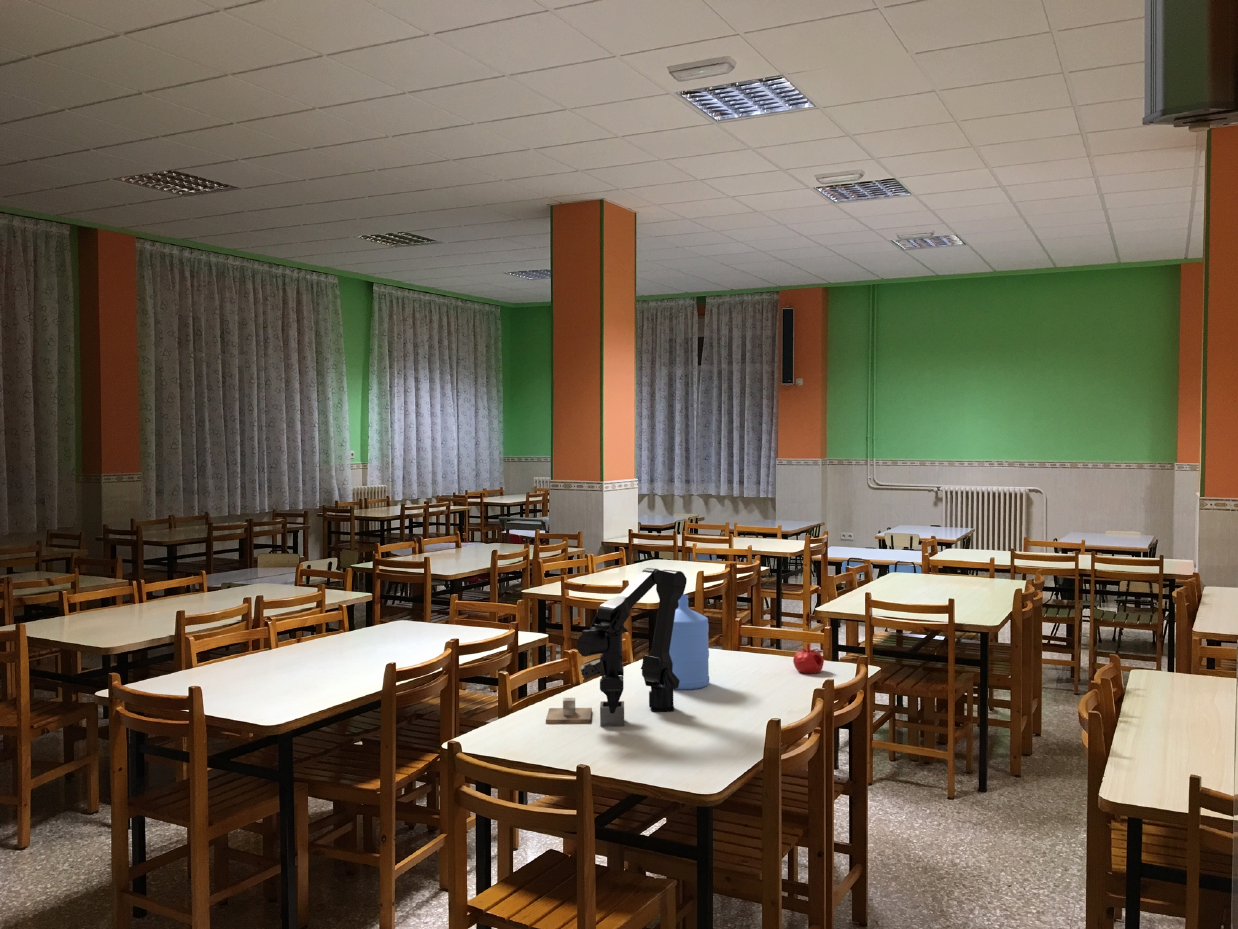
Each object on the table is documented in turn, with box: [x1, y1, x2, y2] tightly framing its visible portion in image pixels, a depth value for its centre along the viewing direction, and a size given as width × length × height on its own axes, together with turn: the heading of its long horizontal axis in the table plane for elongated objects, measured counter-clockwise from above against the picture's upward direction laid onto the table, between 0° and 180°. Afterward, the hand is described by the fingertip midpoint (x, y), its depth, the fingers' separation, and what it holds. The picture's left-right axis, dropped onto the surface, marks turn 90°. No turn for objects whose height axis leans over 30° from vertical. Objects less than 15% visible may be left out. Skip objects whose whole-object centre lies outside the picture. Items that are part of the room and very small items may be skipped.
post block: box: [545, 697, 593, 724], centre depth 269 cm, size 12×12×5 cm
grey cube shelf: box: [599, 700, 625, 727], centre depth 263 cm, size 6×6×5 cm
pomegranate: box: [792, 643, 825, 674], centre depth 321 cm, size 10×10×9 cm
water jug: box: [669, 594, 710, 691], centre depth 305 cm, size 16×16×28 cm
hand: (612, 708), depth 263 cm, fingers open, 9 cm apart
